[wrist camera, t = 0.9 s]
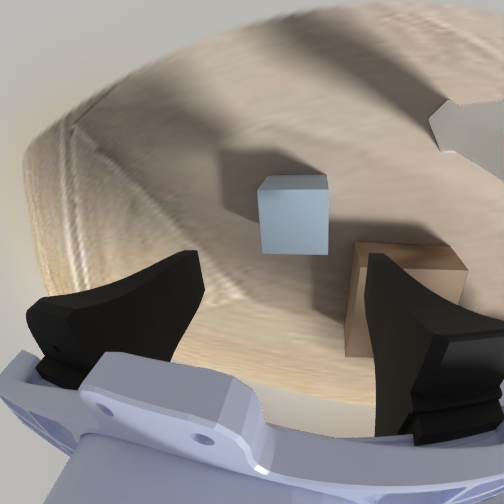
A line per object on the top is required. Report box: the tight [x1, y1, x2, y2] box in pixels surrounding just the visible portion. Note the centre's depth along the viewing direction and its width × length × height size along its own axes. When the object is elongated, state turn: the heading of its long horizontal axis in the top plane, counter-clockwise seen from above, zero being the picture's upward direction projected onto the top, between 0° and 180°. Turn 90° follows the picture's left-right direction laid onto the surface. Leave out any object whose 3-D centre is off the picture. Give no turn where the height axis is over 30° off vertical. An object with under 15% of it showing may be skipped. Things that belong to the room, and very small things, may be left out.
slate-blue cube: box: [257, 175, 329, 255], centre depth 19 cm, size 4×4×4 cm
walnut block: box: [344, 242, 469, 357], centre depth 20 cm, size 8×8×4 cm
